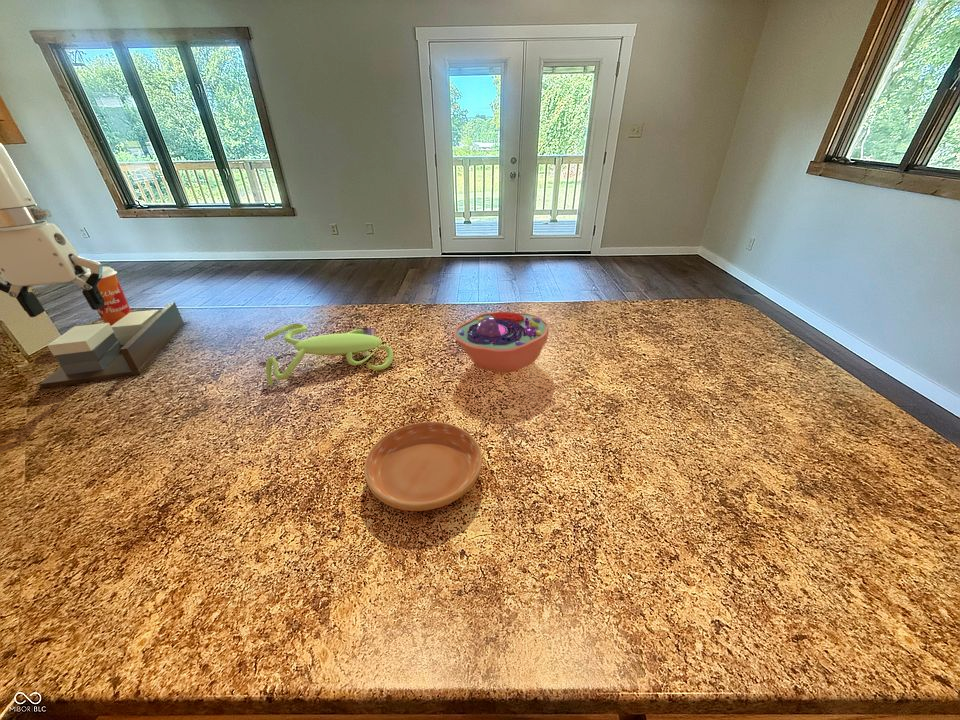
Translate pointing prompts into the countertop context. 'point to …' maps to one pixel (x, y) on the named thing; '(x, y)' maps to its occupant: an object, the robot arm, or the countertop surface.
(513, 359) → the cell model
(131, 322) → the white stack
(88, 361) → the grey stack
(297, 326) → the figurine
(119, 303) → the paper cup
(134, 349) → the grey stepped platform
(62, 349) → the cream flat block
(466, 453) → the saucer
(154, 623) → the countertop surface
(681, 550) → the countertop surface
